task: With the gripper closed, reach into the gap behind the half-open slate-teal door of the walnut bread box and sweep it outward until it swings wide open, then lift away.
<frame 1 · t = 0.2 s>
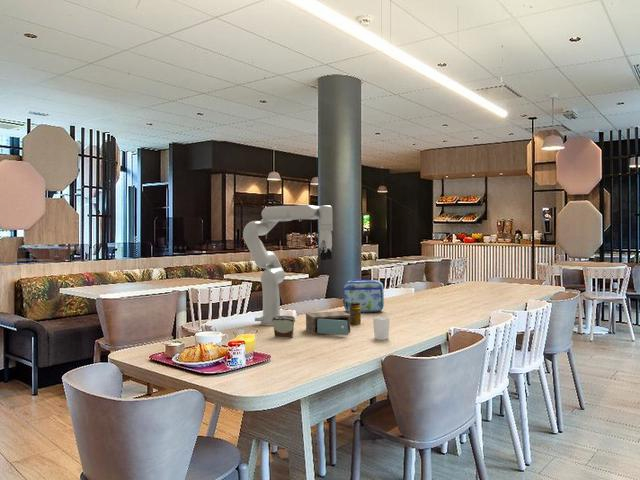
hand: (326, 259, 285), 37 cm above the table, tool pointing down, fingers open, 9 cm apart
white cup: (381, 338, 254), on the table
bread box: (327, 331, 274), on the table
condiment: (354, 324, 294), on the table
lunch box: (363, 312, 337), on the table
food container: (285, 336, 262), on the table
door: (331, 327, 261), point 4 cm above the table, hinge at 40.0°, touching bread box
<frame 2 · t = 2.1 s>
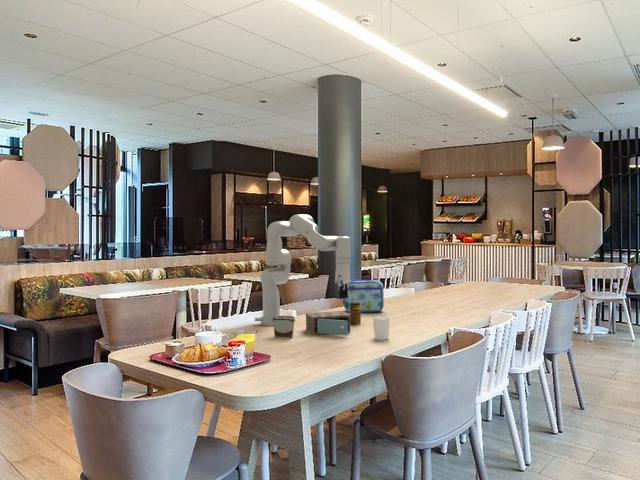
hand: (343, 297, 262), 19 cm above the table, tool pointing down, fingers closed
nothing on the table moved.
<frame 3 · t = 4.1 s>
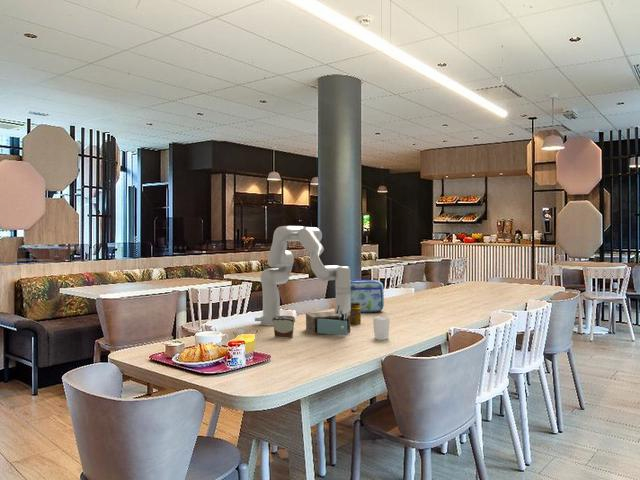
hand: (343, 327, 262), 4 cm above the table, tool pointing down, fingers closed
door: (331, 327, 261), point 5 cm above the table, hinge at 41.2°, touching gripper
everything else where it was.
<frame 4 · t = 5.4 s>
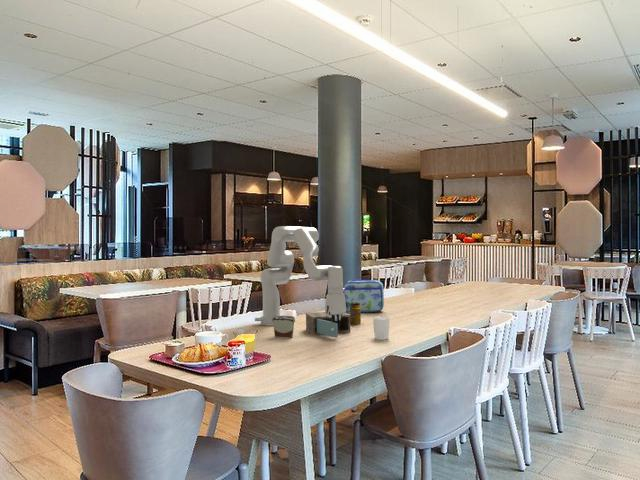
hand: (336, 328, 257), 5 cm above the table, tool pointing down, fingers closed
door: (325, 328, 258), point 4 cm above the table, hinge at 70.1°, touching gripper
everything else where it was.
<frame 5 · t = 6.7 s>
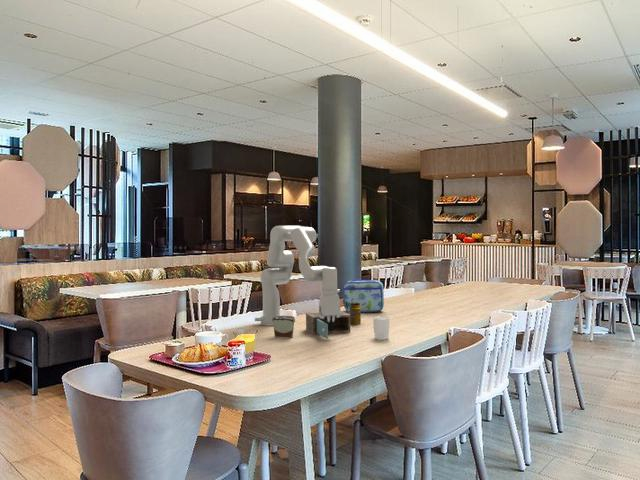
hand: (330, 329, 256), 4 cm above the table, tool pointing down, fingers closed
door: (320, 328, 257), point 4 cm above the table, hinge at 89.2°
everything else where it was.
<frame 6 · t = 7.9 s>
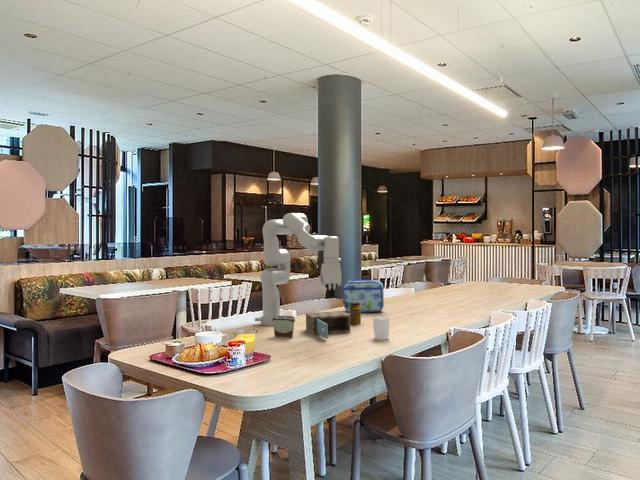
hand: (331, 297, 262), 19 cm above the table, tool pointing down, fingers closed
nothing on the table moved.
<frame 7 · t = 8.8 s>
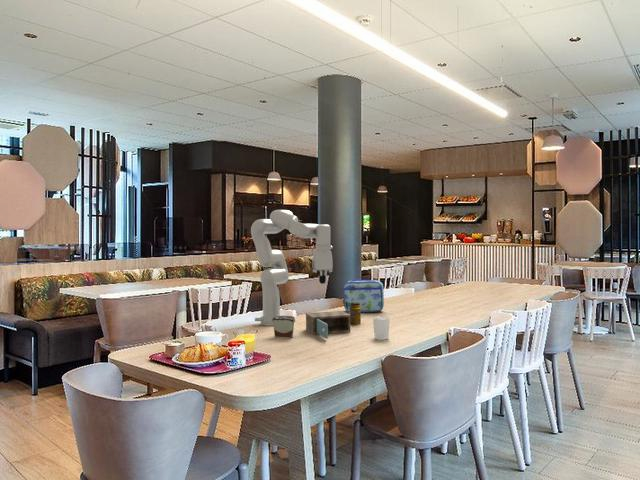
hand: (322, 283, 272), 25 cm above the table, tool pointing down, fingers closed
nothing on the table moved.
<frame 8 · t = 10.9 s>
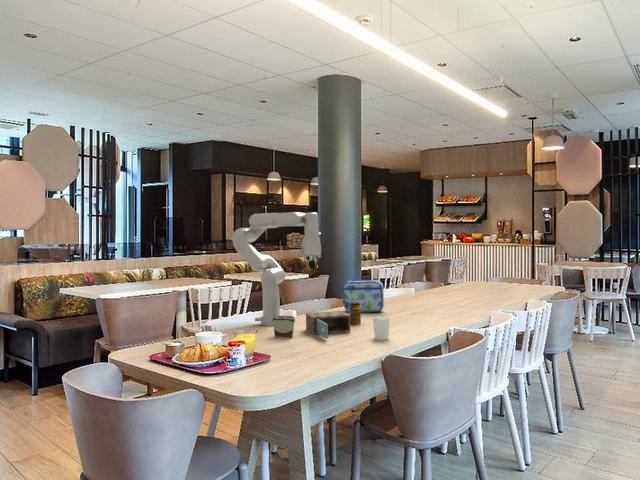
hand: (311, 268, 287), 32 cm above the table, tool pointing down, fingers closed
nothing on the table moved.
at the end: door at +89° (first picture: +40°); food container moved 0.2 cm from its start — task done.
